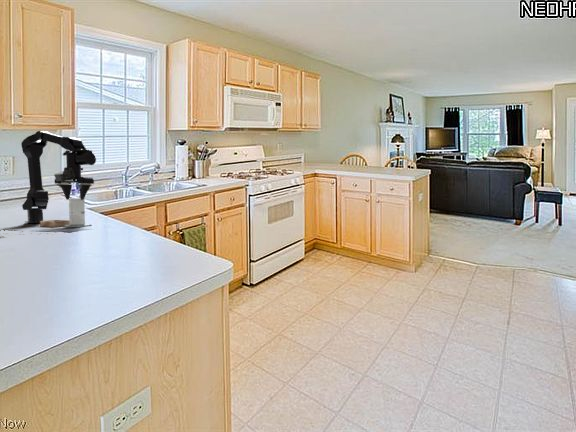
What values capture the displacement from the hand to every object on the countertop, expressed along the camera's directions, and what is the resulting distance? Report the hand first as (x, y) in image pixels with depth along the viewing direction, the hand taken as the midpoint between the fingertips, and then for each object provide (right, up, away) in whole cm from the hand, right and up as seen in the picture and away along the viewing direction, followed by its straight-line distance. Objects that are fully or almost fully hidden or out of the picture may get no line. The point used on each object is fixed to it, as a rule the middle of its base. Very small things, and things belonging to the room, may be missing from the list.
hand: (74, 199), depth 181 cm
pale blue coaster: (+2, -12, -1) cm, 12 cm away
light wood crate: (-9, -12, +1) cm, 15 cm away
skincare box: (+2, -12, -1) cm, 12 cm away
